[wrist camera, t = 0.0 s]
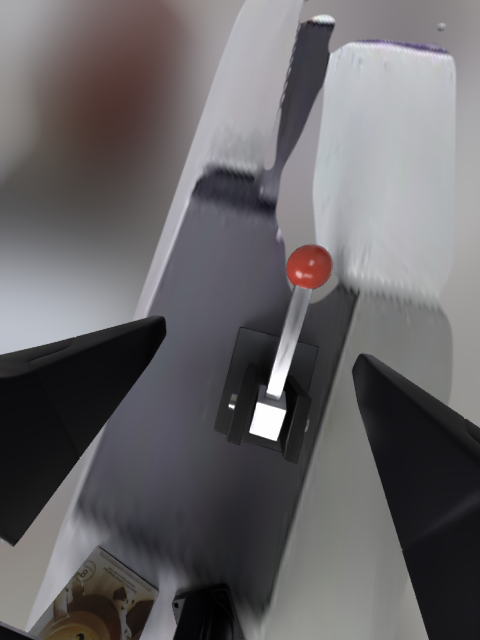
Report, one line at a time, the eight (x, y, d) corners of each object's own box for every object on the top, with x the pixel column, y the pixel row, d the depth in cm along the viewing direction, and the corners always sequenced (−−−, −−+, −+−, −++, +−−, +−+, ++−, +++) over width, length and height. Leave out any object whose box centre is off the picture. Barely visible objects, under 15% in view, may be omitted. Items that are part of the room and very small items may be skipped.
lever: (291, 243, 14) (295, 236, 11) (332, 251, 14) (346, 246, 11) (248, 409, 17) (243, 433, 15) (280, 418, 17) (281, 445, 14)
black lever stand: (240, 327, 24) (227, 320, 15) (315, 345, 23) (355, 352, 14) (215, 425, 24) (184, 487, 14) (291, 449, 23) (315, 534, 13)
